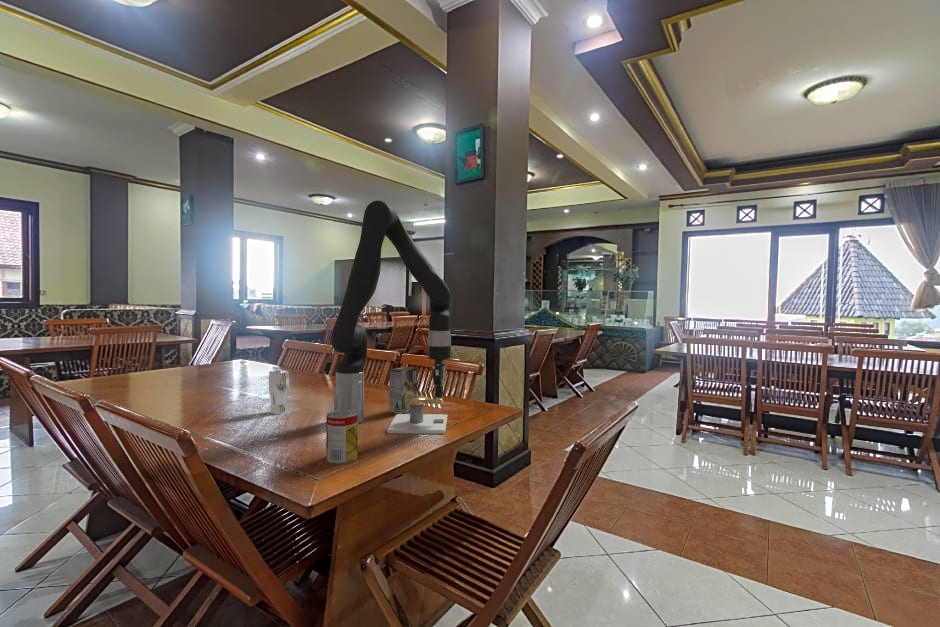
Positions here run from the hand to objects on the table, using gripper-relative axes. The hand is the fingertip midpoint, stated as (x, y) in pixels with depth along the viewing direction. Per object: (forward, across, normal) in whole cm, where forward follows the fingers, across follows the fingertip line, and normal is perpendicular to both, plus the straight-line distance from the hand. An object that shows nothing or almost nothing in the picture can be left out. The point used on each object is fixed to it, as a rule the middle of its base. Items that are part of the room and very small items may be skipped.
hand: (439, 396), depth 143 cm
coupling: (+3, +1, +5) cm, 6 cm away
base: (+10, +1, +8) cm, 13 cm away
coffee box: (+10, +19, +16) cm, 26 cm away
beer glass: (+10, +13, +60) cm, 62 cm away
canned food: (+11, -30, +22) cm, 39 cm away
